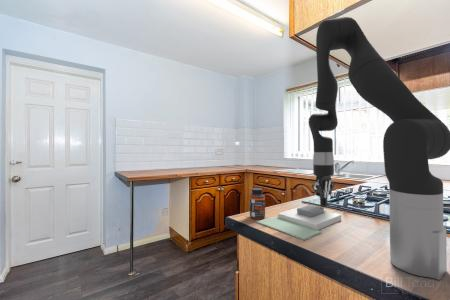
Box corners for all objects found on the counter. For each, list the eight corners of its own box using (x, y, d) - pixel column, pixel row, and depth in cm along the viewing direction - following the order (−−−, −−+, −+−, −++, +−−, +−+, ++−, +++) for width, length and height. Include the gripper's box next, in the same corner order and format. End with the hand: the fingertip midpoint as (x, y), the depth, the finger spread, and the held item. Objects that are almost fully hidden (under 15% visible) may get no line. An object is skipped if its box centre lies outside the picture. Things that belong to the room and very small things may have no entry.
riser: (341, 220, 83) (341, 214, 83) (316, 230, 73) (315, 224, 73) (303, 210, 96) (303, 205, 96) (278, 218, 86) (277, 213, 86)
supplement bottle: (254, 220, 84) (253, 190, 84) (247, 216, 90) (246, 188, 90) (268, 218, 87) (267, 189, 86) (260, 214, 92) (259, 186, 92)
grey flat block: (323, 213, 85) (323, 208, 85) (311, 217, 80) (311, 212, 80) (309, 209, 90) (309, 204, 90) (297, 213, 85) (297, 208, 85)
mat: (321, 232, 72) (321, 231, 72) (304, 240, 66) (304, 238, 66) (273, 217, 88) (273, 216, 88) (256, 222, 83) (256, 221, 83)
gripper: (322, 165, 83) (323, 211, 84) (341, 162, 91) (341, 205, 91) (305, 164, 89) (305, 207, 90) (323, 161, 97) (324, 201, 98)
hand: (323, 206), depth 91 cm, fingers closed
